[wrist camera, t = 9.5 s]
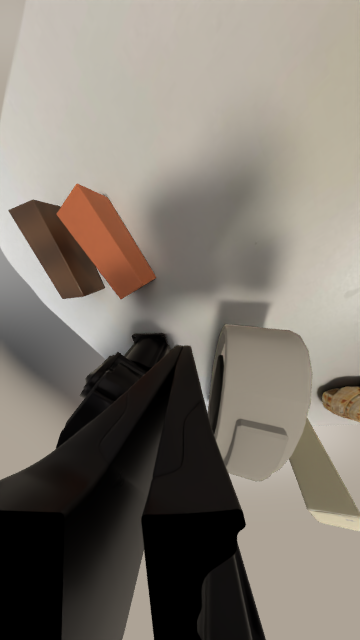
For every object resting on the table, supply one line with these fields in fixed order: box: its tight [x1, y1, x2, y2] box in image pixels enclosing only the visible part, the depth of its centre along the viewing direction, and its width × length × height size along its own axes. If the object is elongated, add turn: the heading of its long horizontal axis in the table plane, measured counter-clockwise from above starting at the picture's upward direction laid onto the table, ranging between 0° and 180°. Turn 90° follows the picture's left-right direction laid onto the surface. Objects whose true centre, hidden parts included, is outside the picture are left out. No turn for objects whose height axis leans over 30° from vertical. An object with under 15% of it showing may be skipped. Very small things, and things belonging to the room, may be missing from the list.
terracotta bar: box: [57, 184, 156, 299], centre depth 16 cm, size 10×4×4 cm, turn 31°
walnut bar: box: [8, 200, 105, 299], centre depth 17 cm, size 10×4×4 cm, turn 10°
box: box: [289, 418, 360, 531], centre depth 19 cm, size 5×4×13 cm
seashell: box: [322, 386, 360, 422], centre depth 20 cm, size 8×6×8 cm
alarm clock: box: [208, 324, 312, 481], centre depth 18 cm, size 23×6×13 cm, turn 1°
